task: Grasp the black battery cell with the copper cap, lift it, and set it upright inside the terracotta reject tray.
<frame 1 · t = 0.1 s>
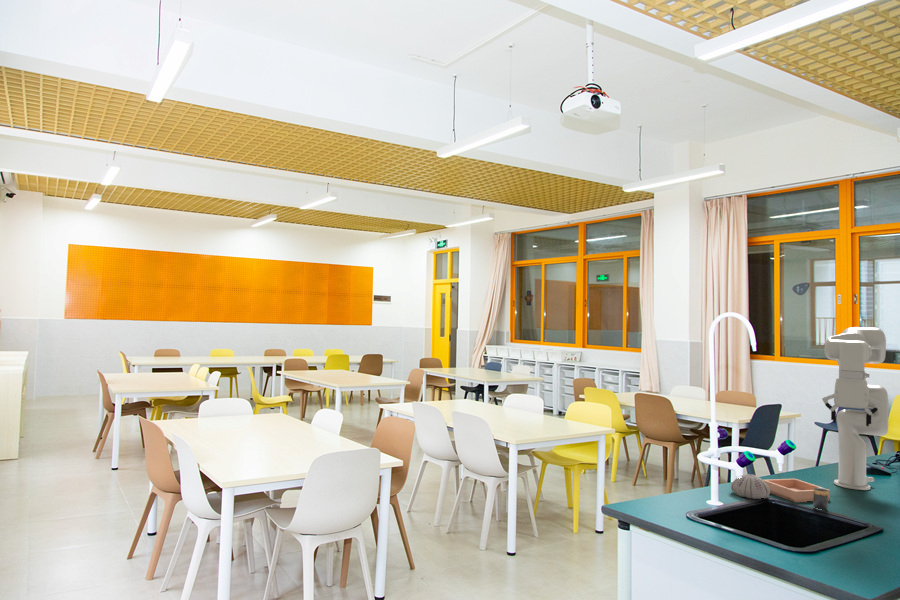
hand: (850, 424, 207), 31 cm above the counter, fingers open, 9 cm apart
battery cell: (820, 509, 209), on the counter
sea urchin shell: (750, 496, 223), on the counter
reject tray: (795, 495, 226), on the counter
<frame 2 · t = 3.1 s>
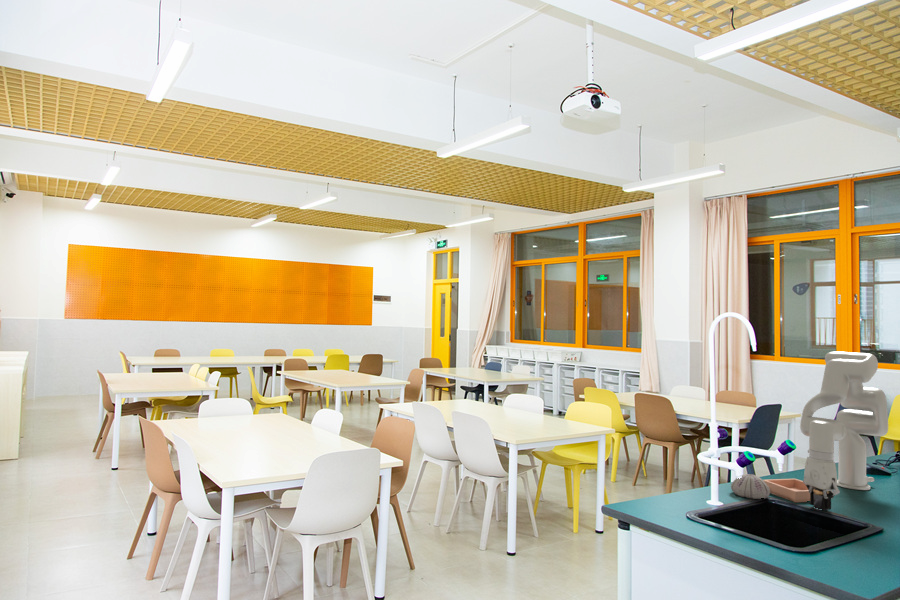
hand: (820, 506, 209), 1 cm above the counter, fingers closed on battery cell, 4 cm apart
battery cell: (820, 509, 209), on the counter, touching gripper
everything else where it was.
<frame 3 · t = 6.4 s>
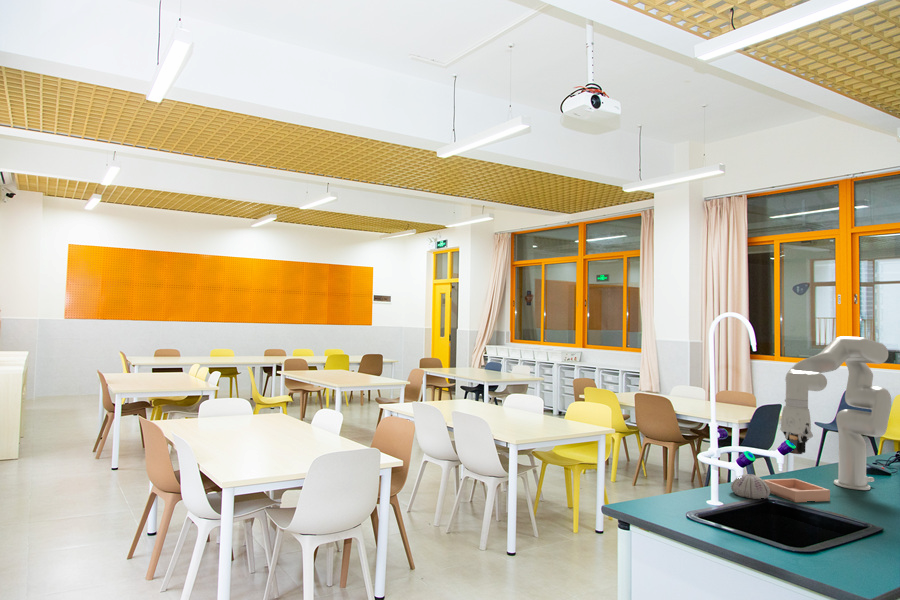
hand: (795, 450, 226), 17 cm above the counter, fingers closed on battery cell, 4 cm apart
battery cell: (795, 452, 226), point 16 cm above the counter, touching gripper
everything else where it was.
when the fingers open (3 cm above the counter, at t = 9.7 s): battery cell drops 1 cm, resting on reject tray.
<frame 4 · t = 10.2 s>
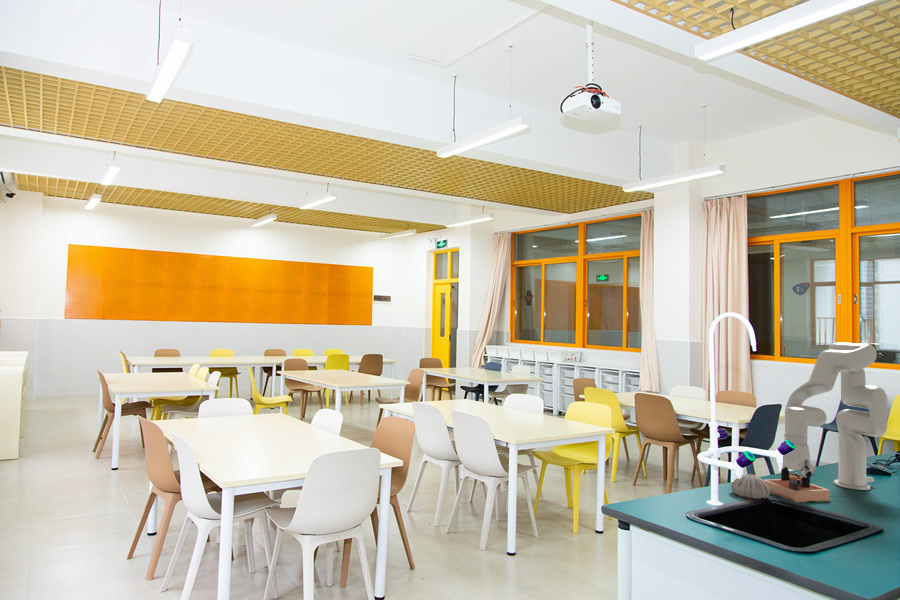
hand: (795, 484, 226), 4 cm above the counter, fingers open, 9 cm apart
battery cell: (795, 492, 226), point 1 cm above the counter, touching reject tray
everything else where it was.
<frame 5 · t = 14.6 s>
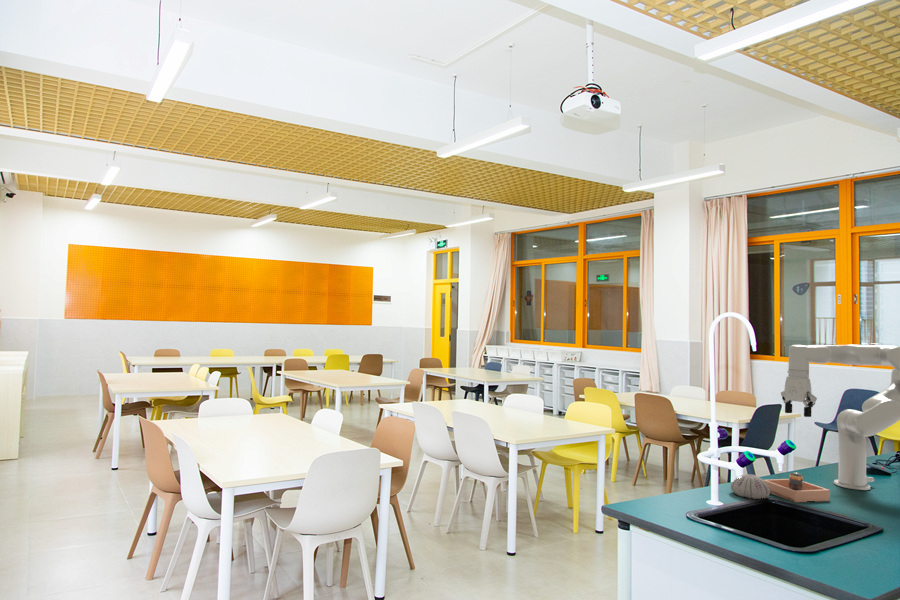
hand: (797, 414, 247), 28 cm above the counter, fingers open, 9 cm apart
nothing on the counter moved.
at the end: battery cell inside the target area on the reject tray (0.1 cm from its centre), point 1.1 cm above the reject tray's base; battery cell tilted 2°; the gripper is holding nothing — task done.
